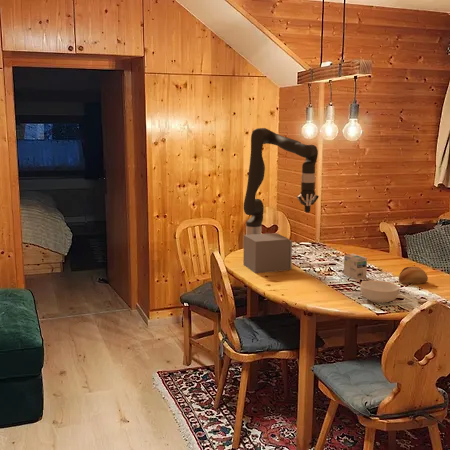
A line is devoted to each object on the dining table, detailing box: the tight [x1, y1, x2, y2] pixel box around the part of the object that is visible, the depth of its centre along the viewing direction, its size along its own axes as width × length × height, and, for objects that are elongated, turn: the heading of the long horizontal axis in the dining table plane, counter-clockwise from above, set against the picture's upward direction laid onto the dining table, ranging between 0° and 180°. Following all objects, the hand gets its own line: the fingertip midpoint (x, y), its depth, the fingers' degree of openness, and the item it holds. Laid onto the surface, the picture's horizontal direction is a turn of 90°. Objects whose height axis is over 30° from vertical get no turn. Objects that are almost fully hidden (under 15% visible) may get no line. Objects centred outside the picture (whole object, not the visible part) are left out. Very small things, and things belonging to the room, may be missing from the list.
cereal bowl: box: [359, 279, 400, 304], centre depth 243 cm, size 17×17×7 cm
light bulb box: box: [343, 253, 368, 280], centre depth 281 cm, size 11×7×11 cm, turn 27°
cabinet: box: [243, 232, 291, 274], centre depth 297 cm, size 18×20×17 cm
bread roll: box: [398, 266, 429, 284], centre depth 270 cm, size 10×15×8 cm, turn 103°
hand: (307, 212), depth 303 cm, fingers closed
